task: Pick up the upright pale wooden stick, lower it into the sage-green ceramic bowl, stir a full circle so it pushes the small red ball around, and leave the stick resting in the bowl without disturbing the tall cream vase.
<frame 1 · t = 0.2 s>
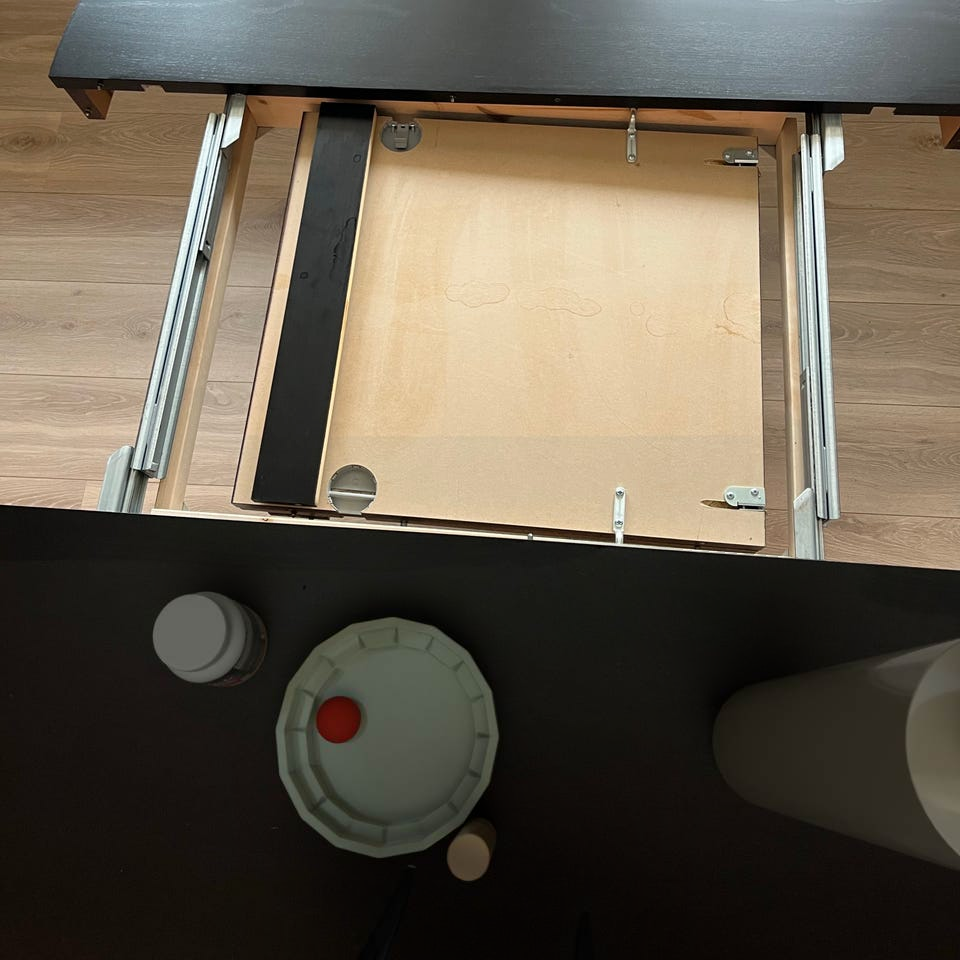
hand: (497, 888, 55), 16 cm above the table, tool horizontal, fingers open, 9 cm apart
stick: (478, 837, 70), on the table
pill bottle: (231, 644, 76), on the table
ball: (338, 719, 71), point 2 cm above the table, touching bowl
bowl: (395, 732, 73), on the table
vase: (772, 745, 71), on the table
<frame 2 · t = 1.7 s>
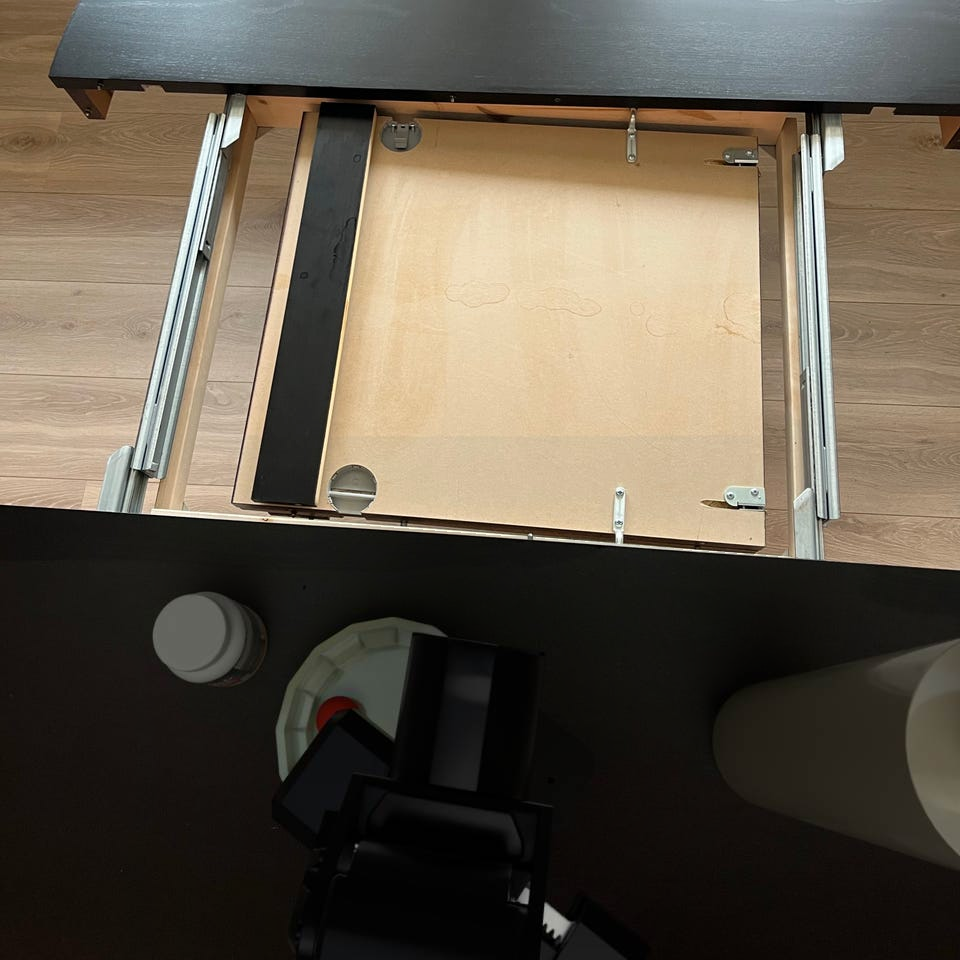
hand: (467, 859, 58), 13 cm above the table, tool pointing down, fingers open, 9 cm apart
nothing on the table moved.
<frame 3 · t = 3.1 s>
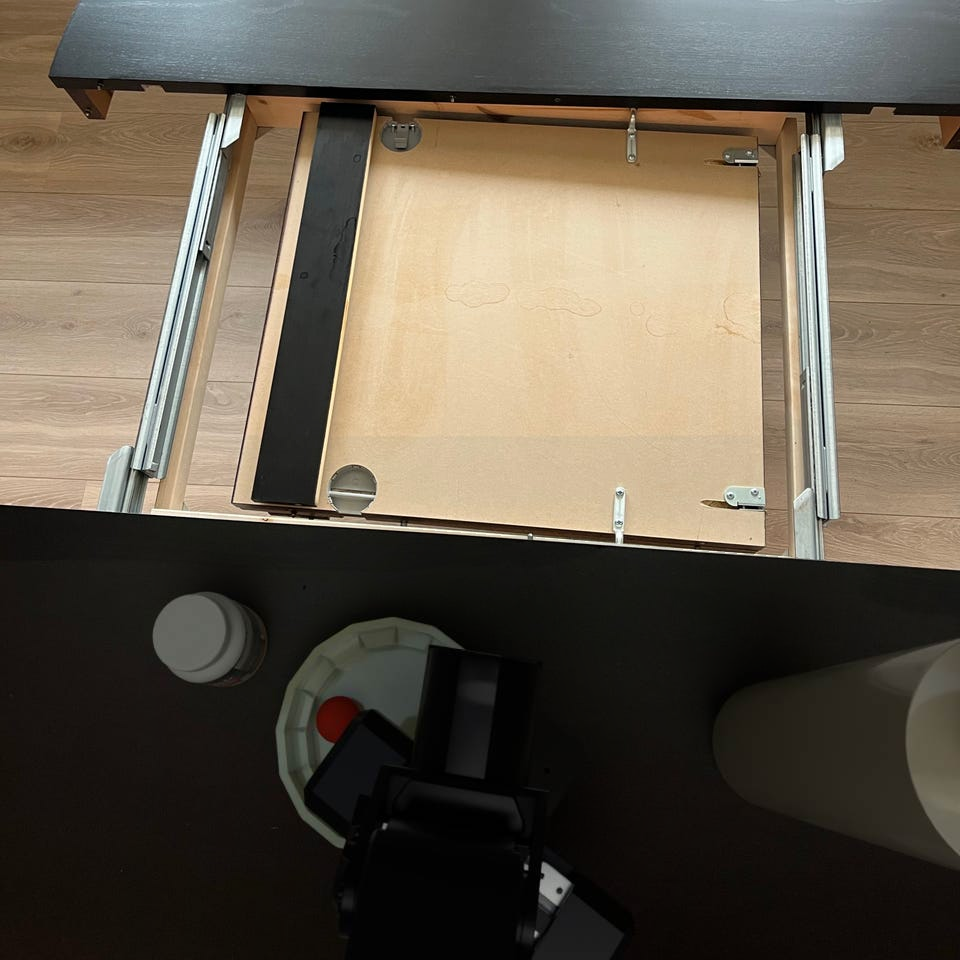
hand: (472, 841, 66), 5 cm above the table, tool pointing down, fingers open, 4 cm apart
stick: (478, 837, 70), on the table, touching gripper
everything else where it was.
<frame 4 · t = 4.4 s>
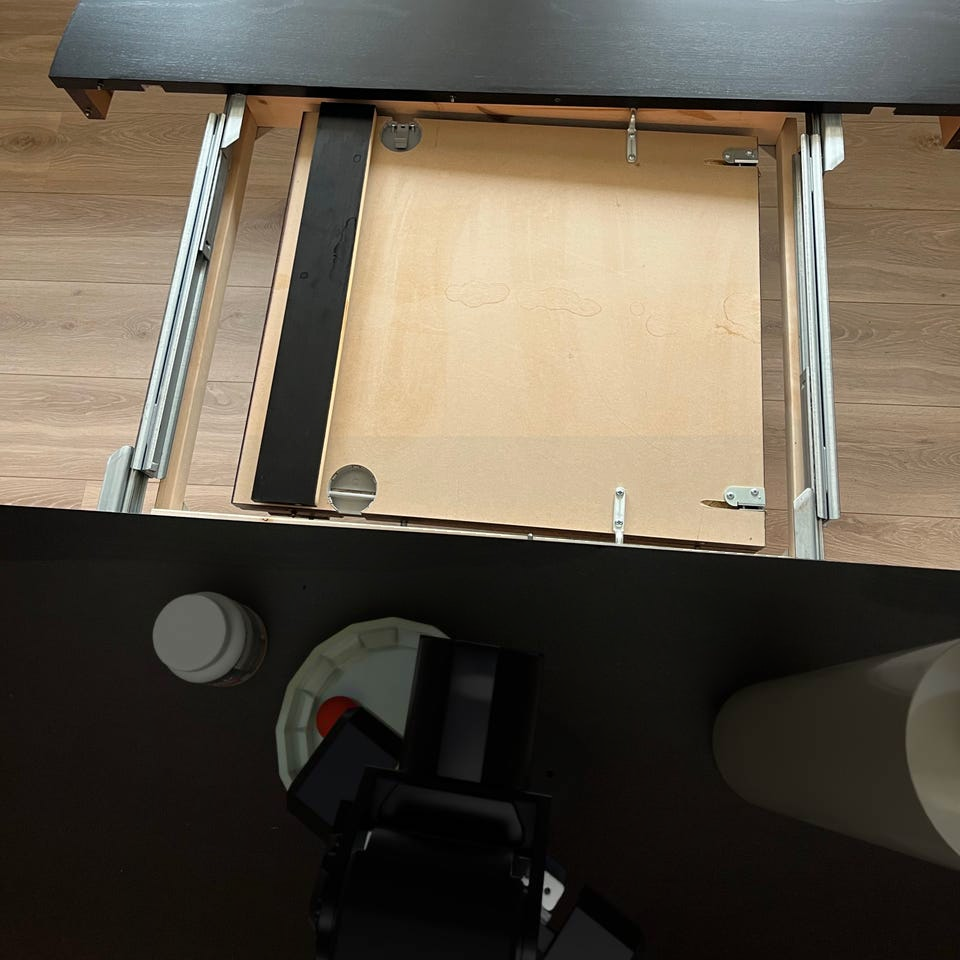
hand: (470, 850, 61), 9 cm above the table, tool pointing down, fingers closed on stick, 2 cm apart
stick: (476, 852, 66), point 5 cm above the table, tilted 5°, touching gripper
everything else where it was.
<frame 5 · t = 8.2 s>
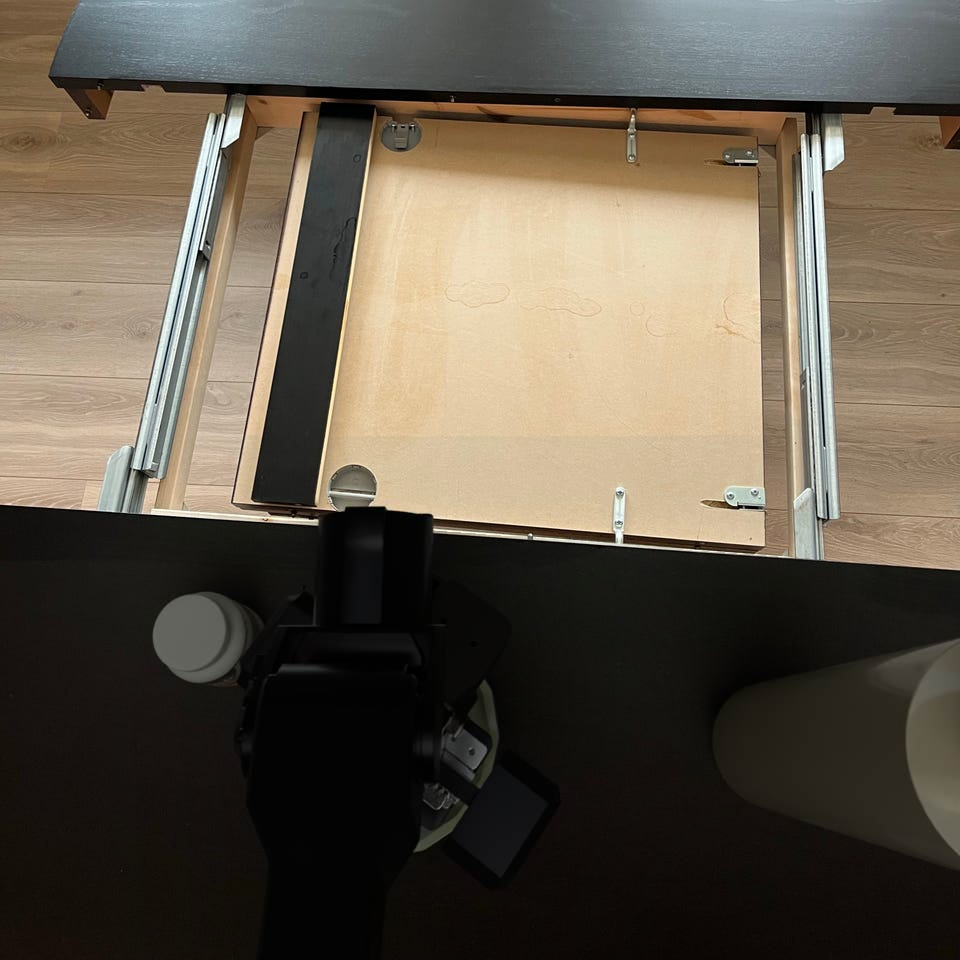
hand: (411, 732, 66), 7 cm above the table, tool pointing down, fingers closed on stick, 2 cm apart
stick: (419, 733, 71), point 2 cm above the table, touching gripper
ball: (350, 738, 71), point 2 cm above the table, tilted 47°, touching bowl
everything else where it was.
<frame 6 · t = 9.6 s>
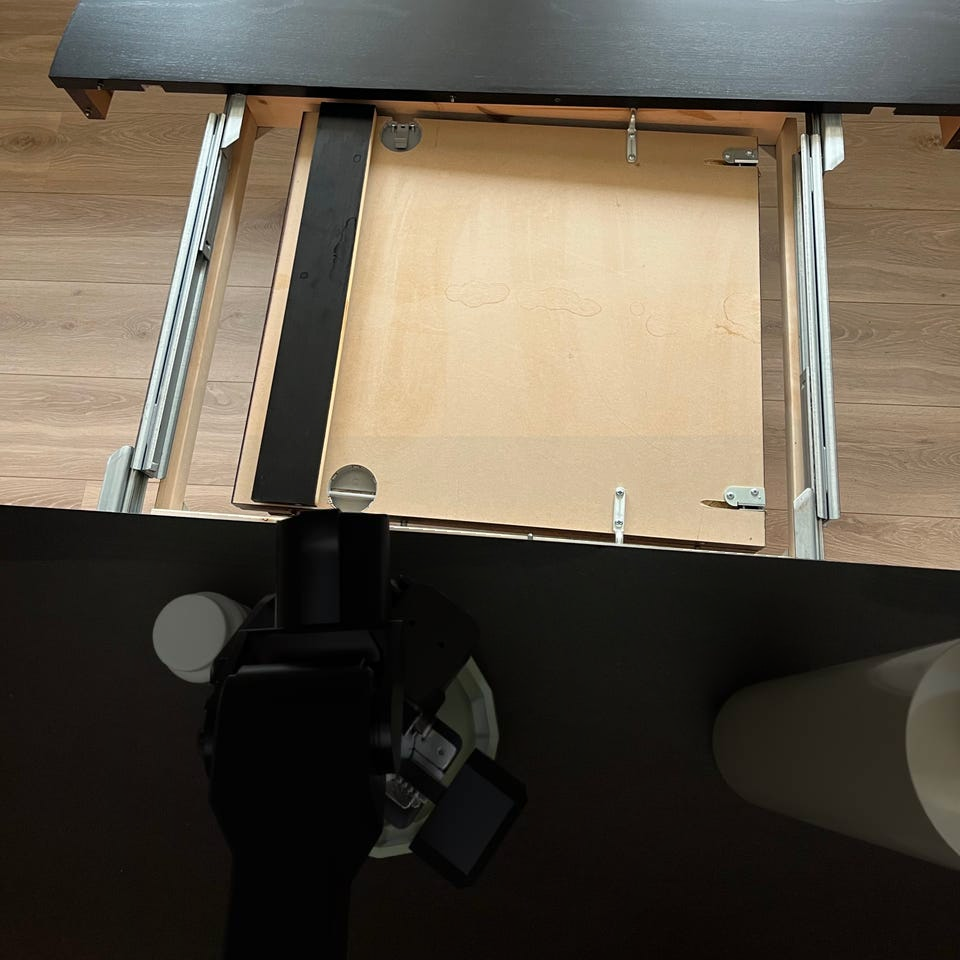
hand: (385, 733, 67), 6 cm above the table, tool pointing down, fingers closed on stick, 2 cm apart
stick: (394, 734, 72), point 1 cm above the table, touching bowl, gripper
ball: (348, 773, 70), point 2 cm above the table, tilted 88°, touching bowl
everything else where it was.
when the fingers open (6 cm above the table, at t = 9.7 s): stick stays where it is, resting on bowl.
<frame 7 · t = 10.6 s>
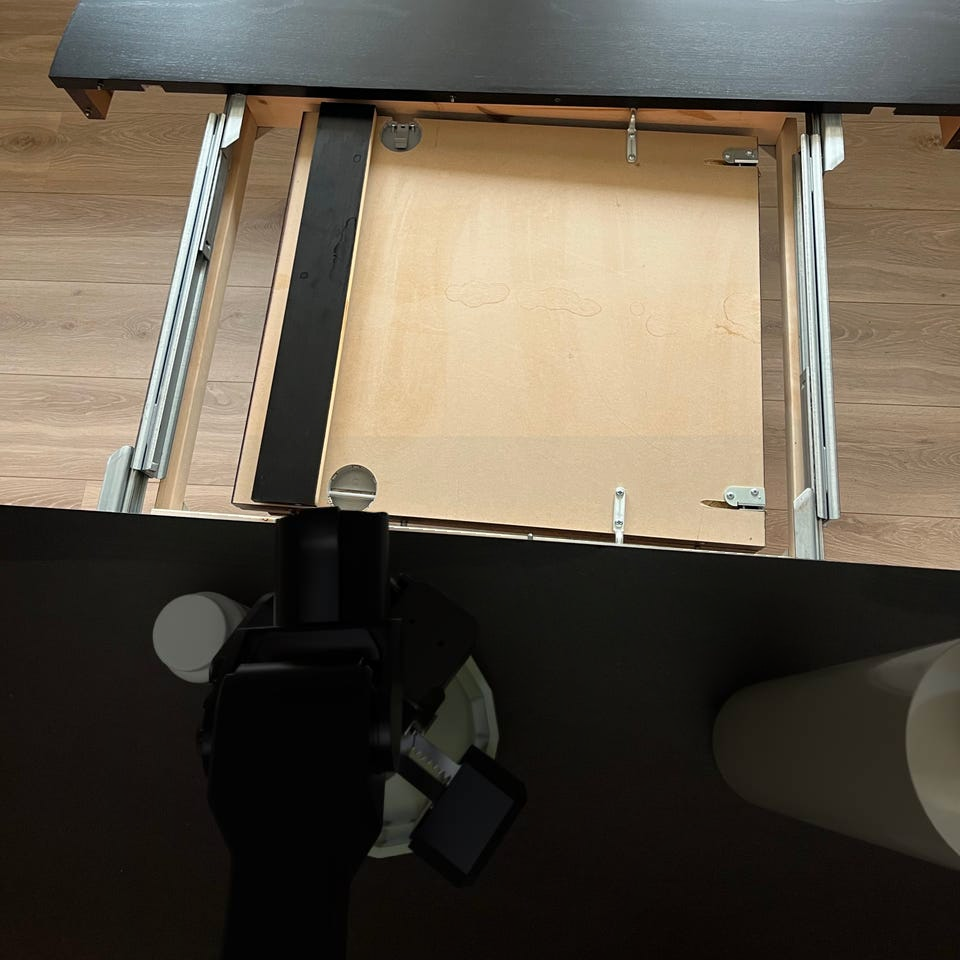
hand: (384, 732, 67), 6 cm above the table, tool pointing down, fingers open, 9 cm apart
stick: (394, 734, 72), point 1 cm above the table, touching bowl
ball: (360, 765, 70), point 2 cm above the table, tilted 103°, touching bowl
everything else where it was.
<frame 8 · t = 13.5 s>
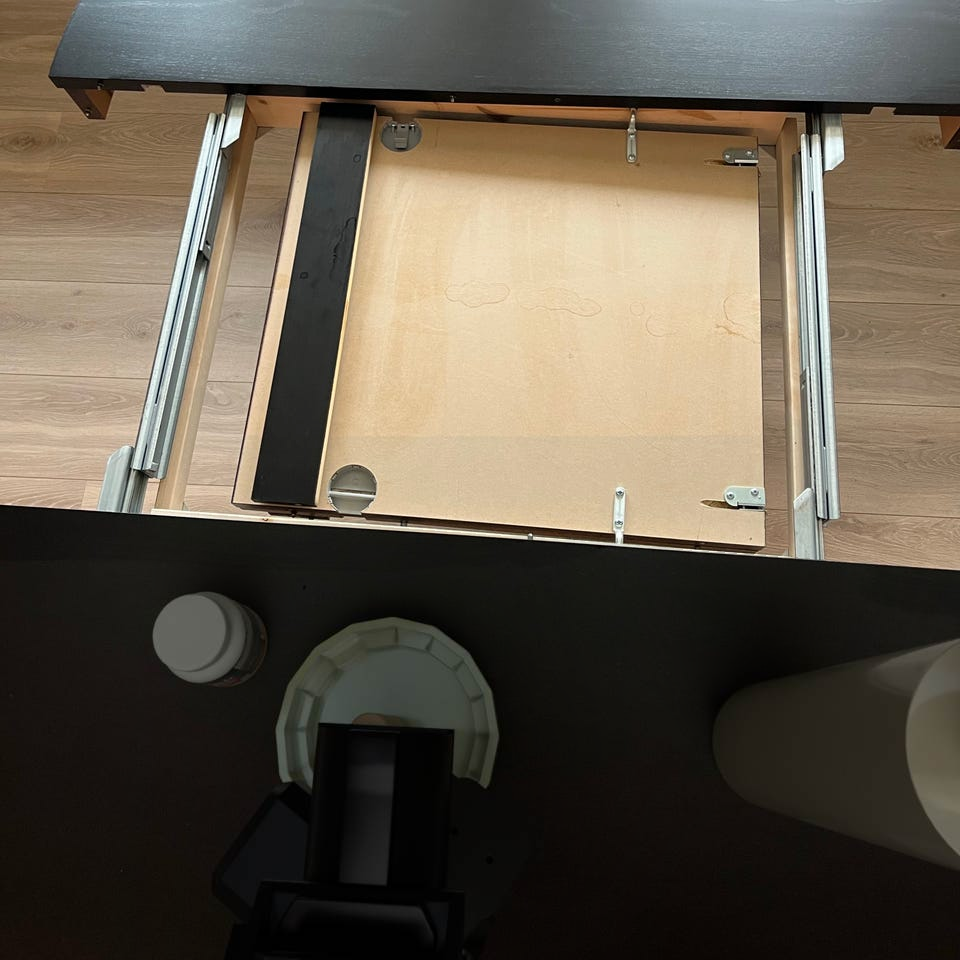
hand: (415, 926, 58), 12 cm above the table, tool pointing down, fingers open, 9 cm apart
at the end: stick inside the target area in the bowl (0.1 cm from its centre), point 0.8 cm above the bowl's base; ball moved 3.4 cm from its start; vase moved 0.0 cm from its start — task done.
